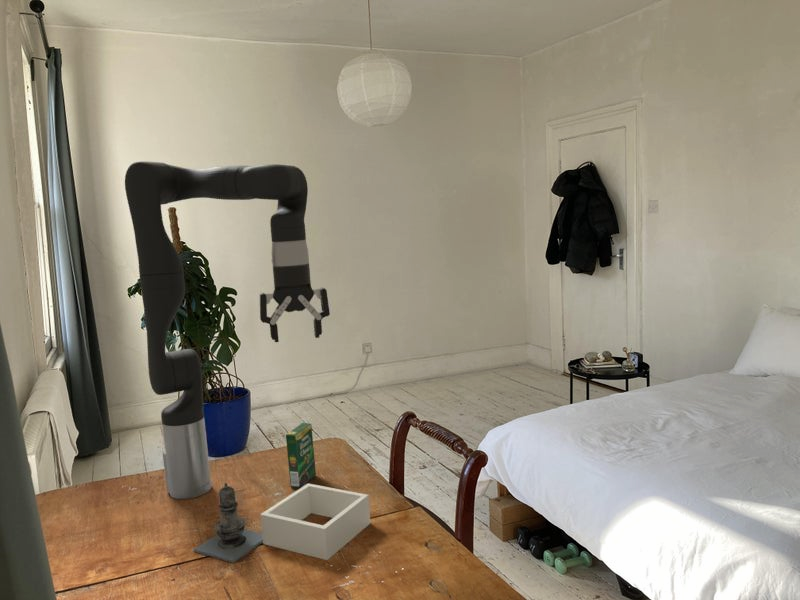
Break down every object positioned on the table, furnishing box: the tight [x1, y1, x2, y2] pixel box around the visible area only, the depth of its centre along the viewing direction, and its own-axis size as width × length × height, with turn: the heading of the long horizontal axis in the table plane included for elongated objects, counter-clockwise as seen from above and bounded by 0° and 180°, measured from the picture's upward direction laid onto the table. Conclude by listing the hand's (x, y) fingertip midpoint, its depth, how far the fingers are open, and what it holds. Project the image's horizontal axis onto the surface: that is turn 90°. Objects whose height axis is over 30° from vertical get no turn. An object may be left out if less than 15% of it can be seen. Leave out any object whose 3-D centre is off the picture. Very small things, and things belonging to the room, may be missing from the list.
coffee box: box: [285, 422, 317, 489], centre depth 151 cm, size 8×3×13 cm, turn 159°
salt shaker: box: [214, 482, 247, 549], centre depth 124 cm, size 6×6×12 cm
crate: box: [260, 483, 371, 561], centre depth 126 cm, size 15×15×6 cm
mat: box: [193, 528, 263, 564], centre depth 124 cm, size 10×10×1 cm
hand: (297, 339), depth 136 cm, fingers open, 8 cm apart
